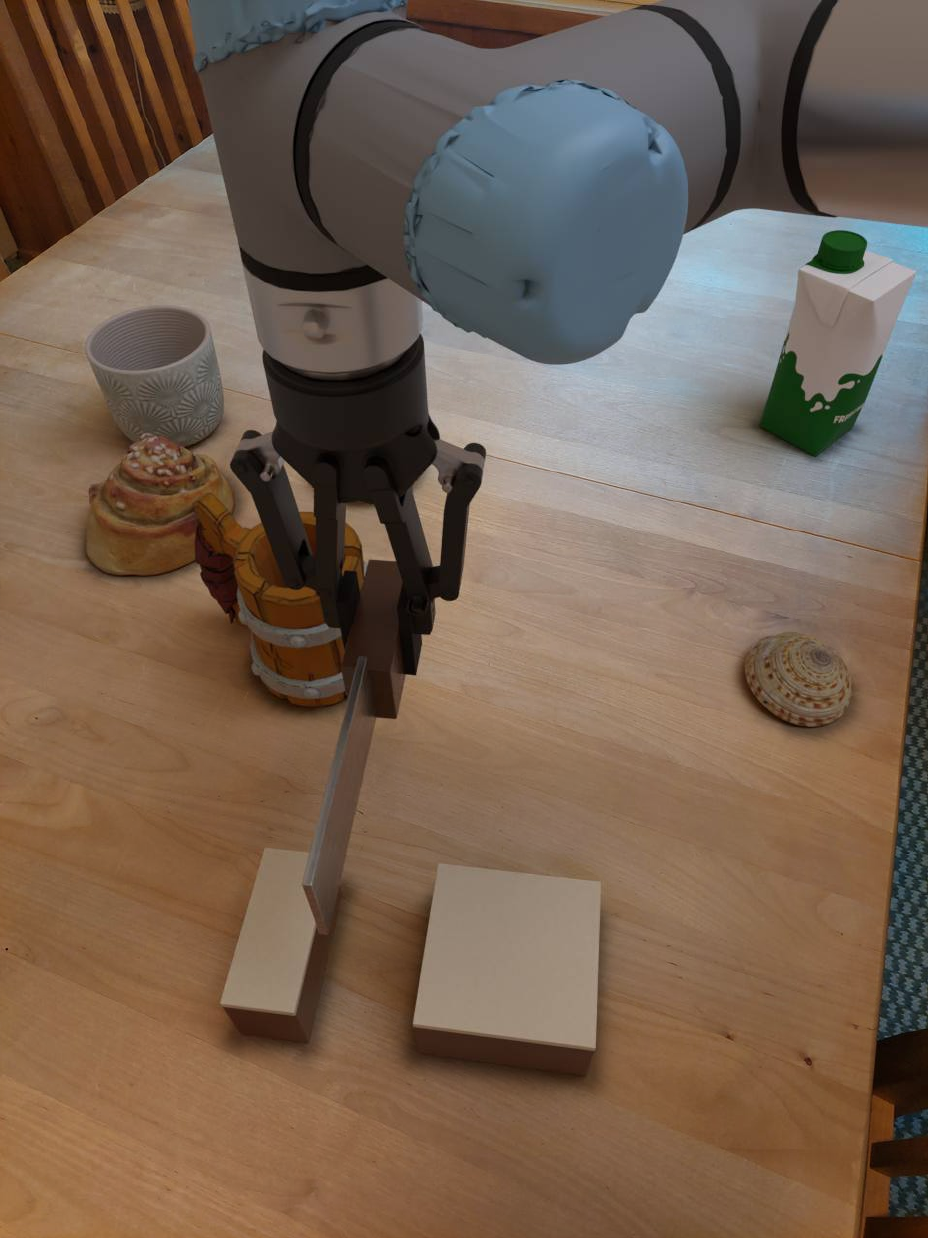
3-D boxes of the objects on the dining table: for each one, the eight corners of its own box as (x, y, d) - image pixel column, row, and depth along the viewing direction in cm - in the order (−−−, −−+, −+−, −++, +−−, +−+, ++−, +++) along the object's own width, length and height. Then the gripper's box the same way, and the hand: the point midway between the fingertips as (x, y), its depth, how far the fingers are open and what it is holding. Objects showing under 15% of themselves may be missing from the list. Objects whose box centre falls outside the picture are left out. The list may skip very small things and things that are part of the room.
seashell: (785, 608, 77) (870, 637, 71) (790, 662, 80) (871, 694, 73) (719, 654, 74) (801, 689, 67) (726, 708, 76) (806, 746, 70)
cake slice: (309, 1043, 57) (294, 1013, 52) (240, 1034, 57) (219, 1003, 53) (342, 893, 63) (331, 854, 59) (280, 886, 64) (264, 847, 59)
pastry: (245, 473, 93) (229, 409, 87) (213, 578, 83) (192, 514, 77) (119, 471, 94) (94, 407, 87) (73, 576, 84) (41, 512, 78)
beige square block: (586, 1076, 55) (595, 1048, 51) (418, 1053, 56) (412, 1024, 52) (592, 919, 62) (601, 881, 57) (441, 901, 63) (438, 863, 58)
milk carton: (793, 393, 101) (848, 215, 85) (865, 429, 96) (937, 249, 81) (746, 426, 97) (795, 247, 82) (819, 465, 92) (885, 283, 77)
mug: (340, 732, 72) (313, 608, 61) (182, 655, 77) (130, 528, 66) (410, 640, 78) (397, 512, 67) (259, 575, 84) (223, 446, 72)
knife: (375, 609, 62) (366, 545, 58) (418, 612, 62) (412, 548, 57) (296, 933, 47) (275, 882, 43) (352, 939, 47) (337, 888, 43)
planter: (207, 468, 94) (180, 378, 85) (97, 454, 95) (61, 365, 87) (249, 398, 102) (228, 310, 93) (147, 386, 103) (118, 299, 95)
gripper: (145, 375, 40) (251, 691, 57) (509, 395, 38) (502, 713, 56) (198, 288, 44) (280, 604, 62) (523, 302, 43) (512, 622, 61)
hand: (385, 655), depth 59 cm, fingers closed on knife, 3 cm apart
